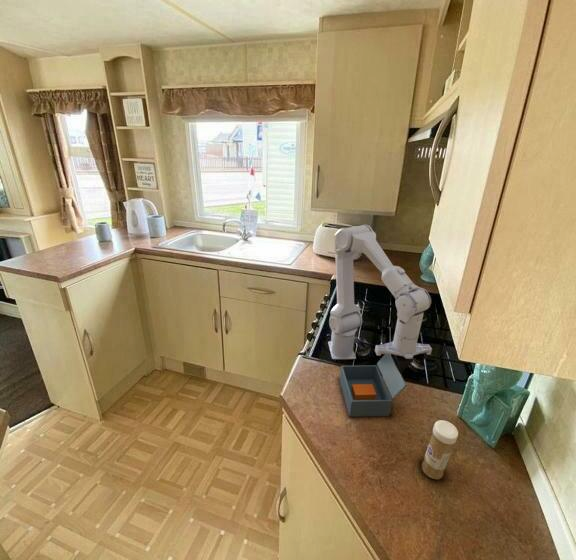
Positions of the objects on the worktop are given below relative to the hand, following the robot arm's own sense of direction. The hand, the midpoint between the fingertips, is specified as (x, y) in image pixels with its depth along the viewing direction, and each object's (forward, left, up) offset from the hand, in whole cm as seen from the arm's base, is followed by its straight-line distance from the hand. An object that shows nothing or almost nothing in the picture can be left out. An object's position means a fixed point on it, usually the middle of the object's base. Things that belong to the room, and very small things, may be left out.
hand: (398, 374), depth 87 cm
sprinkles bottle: (+22, +1, -8) cm, 24 cm away
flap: (0, -2, 0) cm, 2 cm away
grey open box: (0, -9, -8) cm, 12 cm away
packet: (0, -9, -8) cm, 12 cm away
